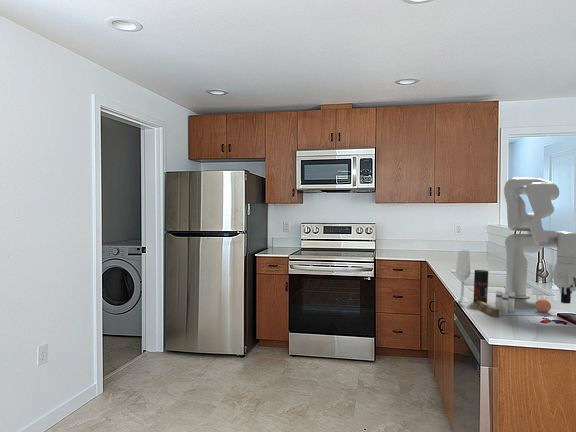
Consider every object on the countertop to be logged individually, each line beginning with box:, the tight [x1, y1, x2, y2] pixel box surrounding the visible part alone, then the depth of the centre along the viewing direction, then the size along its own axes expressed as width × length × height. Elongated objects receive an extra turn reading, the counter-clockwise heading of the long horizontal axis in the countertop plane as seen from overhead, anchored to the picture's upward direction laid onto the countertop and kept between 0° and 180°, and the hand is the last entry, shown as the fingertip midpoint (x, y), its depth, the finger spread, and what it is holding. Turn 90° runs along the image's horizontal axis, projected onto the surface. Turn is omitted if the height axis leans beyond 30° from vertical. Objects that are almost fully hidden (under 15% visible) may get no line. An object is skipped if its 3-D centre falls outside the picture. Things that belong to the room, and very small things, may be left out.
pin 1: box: [495, 290, 503, 311], centre depth 197 cm, size 2×2×8 cm
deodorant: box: [472, 269, 489, 304], centre depth 212 cm, size 6×6×15 cm
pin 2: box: [501, 293, 509, 314], centre depth 192 cm, size 2×2×8 cm
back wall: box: [475, 301, 500, 318], centre depth 194 cm, size 16×2×3 cm, turn 3°
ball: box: [534, 298, 552, 313], centre depth 195 cm, size 6×6×6 cm
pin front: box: [508, 292, 516, 312], centre depth 194 cm, size 2×2×8 cm
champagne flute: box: [454, 249, 471, 303], centre depth 216 cm, size 7×7×24 cm
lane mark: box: [499, 308, 556, 317], centre depth 195 cm, size 11×25×1 cm, turn 92°
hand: (565, 302), depth 195 cm, fingers closed
